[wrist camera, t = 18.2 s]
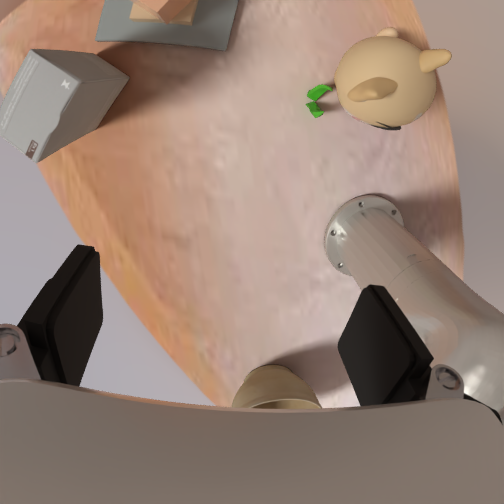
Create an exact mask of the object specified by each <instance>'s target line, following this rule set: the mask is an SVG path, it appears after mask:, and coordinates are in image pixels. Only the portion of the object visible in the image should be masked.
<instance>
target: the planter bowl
mask: <svg viewBox="0 0 504 504" xmlns="http://www.w3.org/2000/svg"><path fill="white" fill-rule="evenodd" d="M232 407H235V408H258V409H319V408H322V407H321V405H320V404H319V401H318V399H317V397H316V395H315V393H314V392H313V390H312V389H311V388H310V386H309V385H308V384H307V383H306V382H304V381H303V380H302V379H301V378H299V377H298V376H296V375H295V374H293V373H292V371H291V370H289V369H288V368H286V367H284V366H280V365H267V366H262V367H259V368H257V369H255V370H253V371H252V372H250V373H249V374H248V375H247V376H246V378H245V380H244V383H243V384H242V386H241V387H240V388H239V390H238V392H237V394H236V396H235V398H234V400H233V403H232Z"/></svg>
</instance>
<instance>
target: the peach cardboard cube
mask: <svg viewBox="0 0 504 504" xmlns="http://www.w3.org/2000/svg"><path fill="white" fill-rule="evenodd" d="M130 1H132V2H133V3H135V4H137V5H138V6H140V7H141V8H143V9H144V10H146V11H147V12H149V13H150V14H152V15H153V16H155V17H156V18H158V19H159V20H161V21H162V22H164V23H165V24H167V25H168V23H169V22H170V21H171V20H172V19H173V18H174V17H175V16H176V15H177V14H178V13H179V12H180V11H181V10H182V9H183V8H184V7H185V6H186V5H187V4H188V3H189V2H190V1H191V0H130Z"/></svg>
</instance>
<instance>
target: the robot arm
mask: <svg viewBox="0 0 504 504" xmlns="http://www.w3.org/2000/svg"><path fill="white" fill-rule="evenodd" d="M359 203H360V204H359ZM332 230H333V231H332ZM331 231H332V232H331ZM324 247H325V251H326V255H327V257H328V259H329V261H330V262H331V264H332V265H333V266H334V267H335V268H336V269H337V270H338V271H340V272H341V273H343V274H346V275H349V276H353V278H354V279H355V281H356V282H357V284H358V286H359V287H360V289H361V290H362V292H361V294H360V296H359V299H358V301H357V303H356V305H355V308H354V310H353V312H352V314H351V316H350V318H349V321H348V323H347V325H346V327H345V329H344V331H343V333H342V335H341V337H340V339H339V342H338V351H339V353H340V356H341V358H342V361H343V363H344V366H345V368H346V370H347V373H348V375H349V378H350V380H351V383H352V385H353V388H354V390H355V393H356V396H357V398H358V401H359V403H360V406H358V407H343V408H319V409H258V408H235V407H219V406H206V405H195V404H185V403H176V402H168V401H160V400H153V399H146V398H140V397H133V396H127V395H121V394H115V393H109V392H104V391H99V390H94V389H89V388H83V387H79V386H80V382H81V379H82V377H83V374H84V371H85V368H86V365H87V363H88V360H89V357H90V354H91V352H92V349H93V346H94V343H95V341H96V338H97V336H98V333H99V331H100V328H101V326H102V322H103V309H102V295H101V278H100V255H99V252H96V251H95V249H94V247H92V246H85V245H77V246H76V247H75V248H74V250H73V251H72V252H71V254H70V255H69V256H68V258H67V259H66V260H65V262H64V263H63V264H62V266H61V267H60V268H59V269H58V271H57V272H56V274H55V275H54V277H53V278H52V279H49V280H48V281H47V283H46V284H45V285H44V287H43V288H42V289H41V291H40V292H39V294H38V295H37V297H36V298H35V299H34V301H33V302H32V304H31V305H30V307H29V308H28V310H27V311H26V313H25V314H24V316H23V317H22V319H21V321H20V322H19V324H18V325H17V326H15V325H12V324H0V504H504V314H503V313H502V312H500V311H499V310H498V309H496V308H495V307H494V306H492V305H491V304H489V303H488V302H487V301H485V300H484V299H483V298H482V297H480V296H479V295H478V294H477V293H475V292H474V291H473V290H471V289H470V288H469V287H468V286H467V285H466V284H465V283H464V282H463V281H462V280H461V279H460V278H459V277H457V276H456V275H455V274H454V273H453V272H452V271H451V270H450V269H449V268H448V267H447V266H446V265H445V264H444V263H443V262H442V261H441V260H439V259H438V258H437V257H436V256H435V255H434V254H433V253H432V252H431V251H430V250H429V249H428V248H427V247H425V246H424V245H423V244H422V243H421V242H420V241H419V240H418V239H417V238H416V237H414V236H413V235H412V234H411V233H410V232H409V231H408V230H406V229H405V228H404V222H403V218H402V215H401V213H400V212H399V210H398V209H397V208H396V206H395V205H394V204H392V203H391V202H390V201H388V200H387V199H385V198H383V197H379V196H376V195H366V196H360V197H357V198H355V199H352V200H350V201H349V202H347V203H345V204H344V205H343V206H342V207H341V208H339V209H338V210H337V212H336V213H335V214H334V215H333V217H332V218H331V220H330V222H329V223H328V226H327V229H326V232H325V238H324Z"/></svg>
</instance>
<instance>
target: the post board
mask: <svg viewBox="0 0 504 504" xmlns="http://www.w3.org/2000/svg"><path fill="white" fill-rule="evenodd" d="M238 1H239V0H191V1H190V2H189V3H188V4H187V5H186V6H185V7H184V8H183V9H182V10H181V11H180V12H179V13H178V14H177V15H176V16H175V17H174V18H173V19H172V20H171V21H170V22H169V23H168V25H167V24H165V23H164V22H162V21H161V20H159V19H158V18H156V17H155V16H153V15H152V14H150V13H149V12H147V11H146V10H144V9H143V8H141V7H140V6H138V5H137V4H135V3H133V2H132V1H130V0H105V2H104V6H103V10H102V14H101V17H100V21H99V25H98V30H97V34H96V38H95V41H98V42H145V43H161V44H173V45H183V46H192V47H200V48H207V49H214V50H221V51H226V49H227V45H228V40H229V36H230V32H231V28H232V24H233V20H234V16H235V12H236V8H237V4H238Z"/></svg>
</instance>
